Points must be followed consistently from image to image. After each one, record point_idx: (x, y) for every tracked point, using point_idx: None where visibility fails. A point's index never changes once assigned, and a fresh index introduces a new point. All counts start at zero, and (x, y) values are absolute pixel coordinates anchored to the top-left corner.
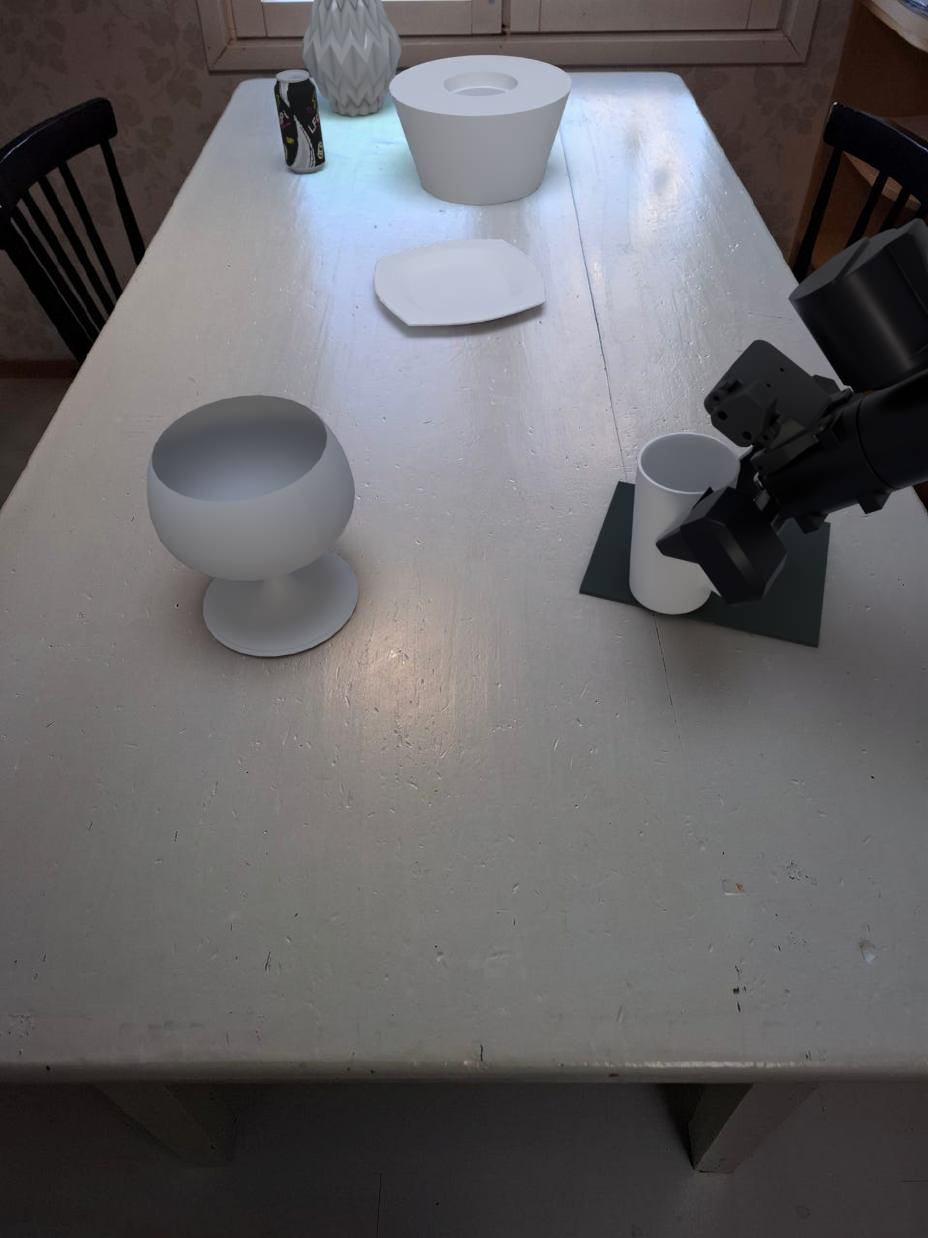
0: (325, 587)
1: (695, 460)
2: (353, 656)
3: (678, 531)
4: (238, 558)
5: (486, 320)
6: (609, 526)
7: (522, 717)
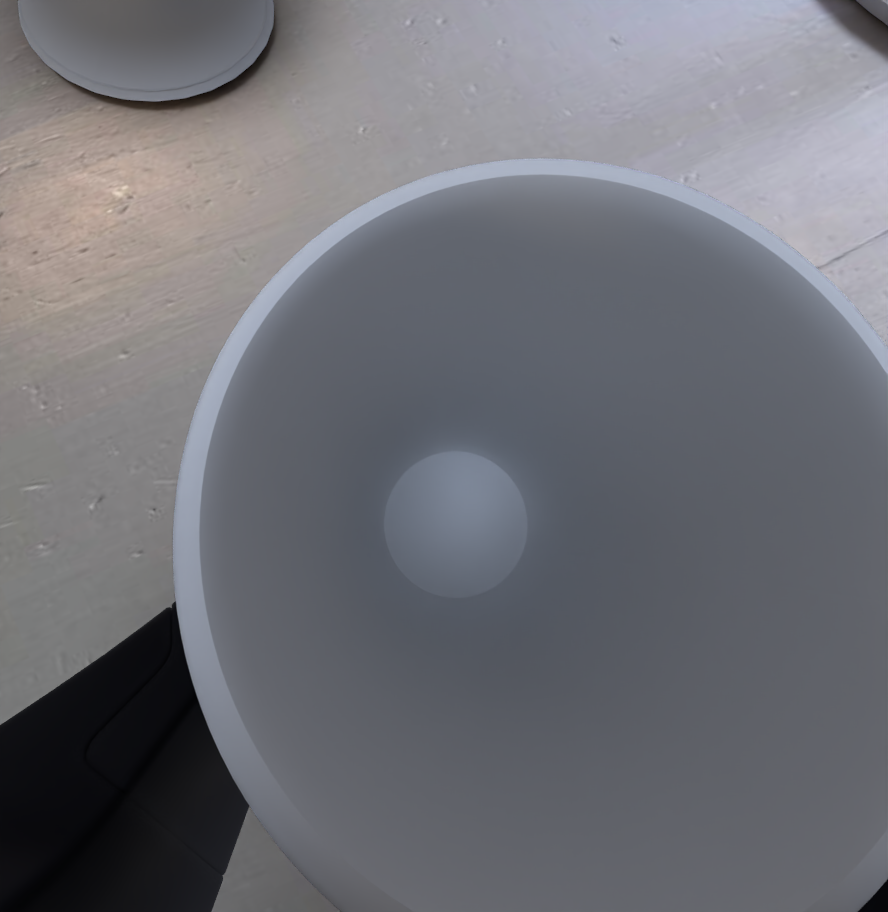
0: (176, 36)
1: (719, 479)
2: (91, 144)
3: (173, 604)
4: None
5: (885, 1)
6: None
7: (70, 415)
